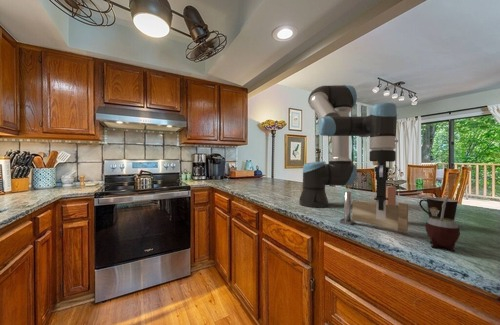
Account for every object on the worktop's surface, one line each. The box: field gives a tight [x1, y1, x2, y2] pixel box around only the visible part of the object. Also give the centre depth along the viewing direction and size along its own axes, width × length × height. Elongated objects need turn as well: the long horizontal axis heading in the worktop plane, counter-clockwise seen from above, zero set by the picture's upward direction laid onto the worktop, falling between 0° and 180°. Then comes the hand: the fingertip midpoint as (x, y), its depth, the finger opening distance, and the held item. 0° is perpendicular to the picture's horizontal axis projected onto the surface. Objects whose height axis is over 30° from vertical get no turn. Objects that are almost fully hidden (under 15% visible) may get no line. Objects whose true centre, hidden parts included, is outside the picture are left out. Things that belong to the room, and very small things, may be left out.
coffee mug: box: [418, 196, 459, 221], centre depth 80 cm, size 12×9×10 cm
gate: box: [351, 199, 409, 234], centre depth 74 cm, size 2×17×9 cm, turn 48°
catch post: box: [386, 185, 397, 206], centre depth 83 cm, size 4×4×14 cm
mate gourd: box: [425, 197, 461, 253], centre depth 58 cm, size 8×8×15 cm
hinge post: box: [339, 191, 356, 226], centre depth 81 cm, size 4×4×12 cm
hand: (380, 219), depth 71 cm, fingers closed
